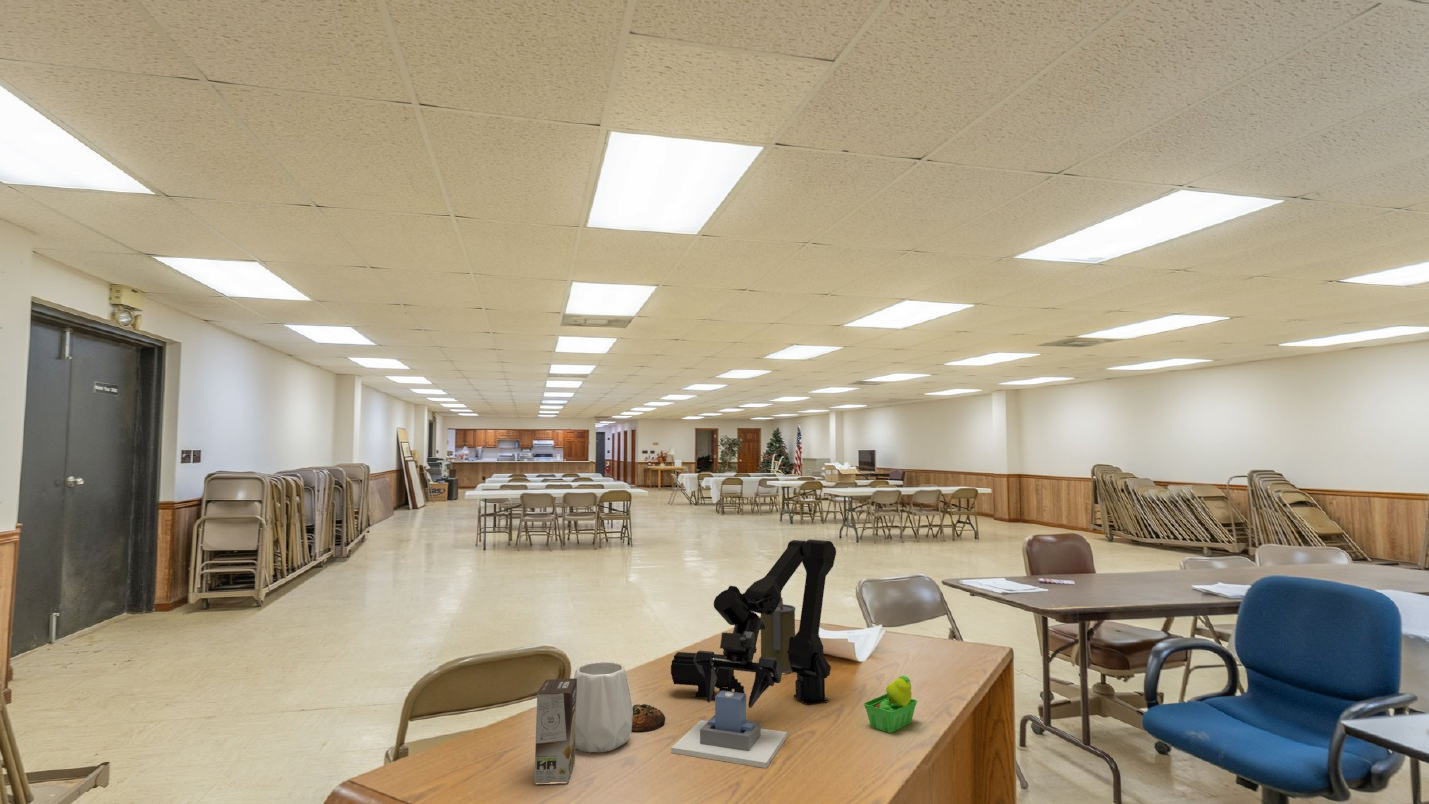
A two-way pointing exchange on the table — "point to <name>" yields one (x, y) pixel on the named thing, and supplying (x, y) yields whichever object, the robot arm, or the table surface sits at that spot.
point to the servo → (730, 712)
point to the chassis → (731, 744)
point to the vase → (602, 707)
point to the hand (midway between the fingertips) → (728, 704)
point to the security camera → (701, 675)
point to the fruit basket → (892, 707)
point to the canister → (778, 634)
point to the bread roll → (646, 718)
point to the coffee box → (555, 730)
